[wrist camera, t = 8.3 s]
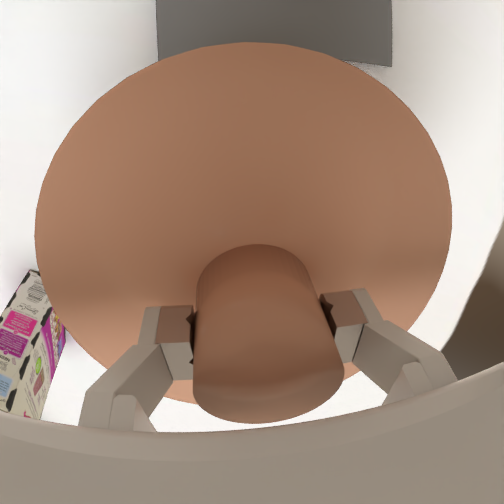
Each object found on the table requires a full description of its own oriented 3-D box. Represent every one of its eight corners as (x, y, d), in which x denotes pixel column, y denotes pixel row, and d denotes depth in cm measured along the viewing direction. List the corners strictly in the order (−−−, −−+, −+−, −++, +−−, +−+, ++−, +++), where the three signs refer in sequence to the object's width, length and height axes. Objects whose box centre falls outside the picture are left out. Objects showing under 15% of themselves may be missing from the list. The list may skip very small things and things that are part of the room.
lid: (3, 97, 7) (-103, 140, 3) (464, 73, 8) (572, 105, 4) (117, 395, 16) (106, 472, 12) (389, 368, 17) (418, 437, 13)
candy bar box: (27, 267, 28) (-40, 389, 14) (65, 280, 29) (9, 414, 16) (33, 332, 33) (-7, 439, 19) (66, 343, 34) (33, 456, 21)
